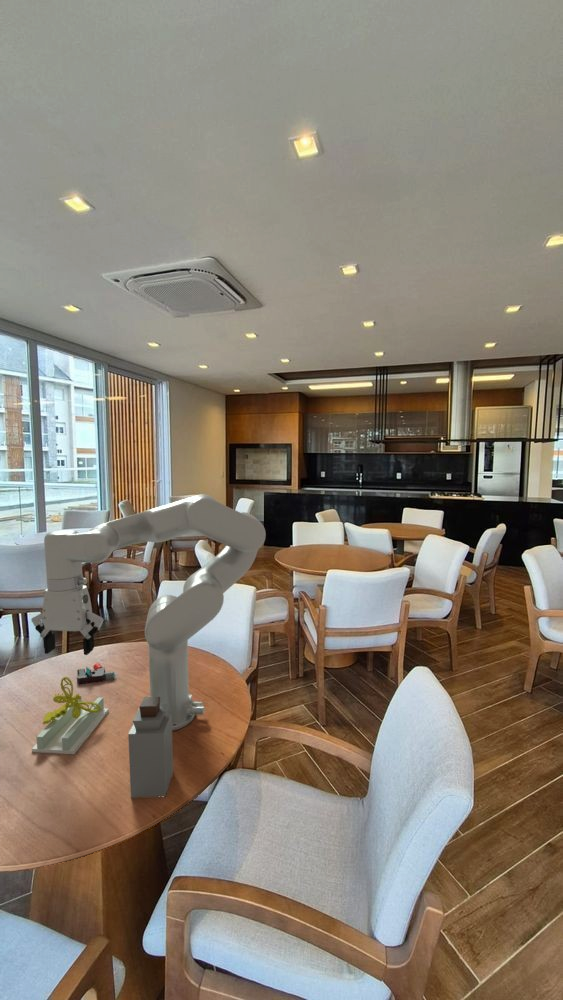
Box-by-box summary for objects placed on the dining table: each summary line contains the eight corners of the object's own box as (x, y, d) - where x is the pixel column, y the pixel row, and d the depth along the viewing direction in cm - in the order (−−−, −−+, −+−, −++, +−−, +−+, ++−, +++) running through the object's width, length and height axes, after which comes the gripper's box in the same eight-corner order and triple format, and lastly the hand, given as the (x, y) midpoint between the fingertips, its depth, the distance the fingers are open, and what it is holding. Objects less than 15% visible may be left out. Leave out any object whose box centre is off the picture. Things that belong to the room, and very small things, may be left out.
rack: (108, 711, 110) (108, 697, 109) (74, 754, 94) (73, 738, 93) (72, 709, 110) (71, 696, 110) (32, 751, 95) (31, 736, 94)
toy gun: (117, 681, 125) (116, 666, 124) (73, 687, 122) (72, 671, 121) (120, 666, 134) (119, 651, 134) (79, 671, 131) (78, 656, 130)
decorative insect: (68, 733, 103) (102, 706, 105) (66, 742, 100) (101, 714, 102) (30, 701, 99) (66, 673, 100) (26, 710, 96) (64, 681, 97)
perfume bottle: (173, 771, 89) (170, 691, 87) (165, 797, 82) (162, 711, 80) (141, 772, 89) (138, 692, 87) (130, 798, 82) (127, 712, 80)
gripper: (108, 578, 101) (111, 645, 103) (40, 577, 103) (45, 643, 104) (92, 588, 94) (96, 660, 96) (19, 586, 95) (24, 658, 97)
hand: (69, 651), depth 100 cm, fingers open, 9 cm apart
